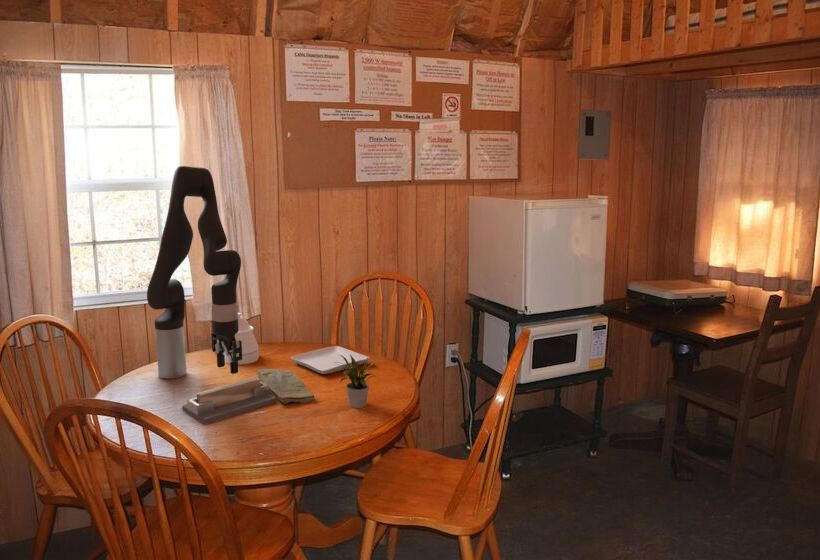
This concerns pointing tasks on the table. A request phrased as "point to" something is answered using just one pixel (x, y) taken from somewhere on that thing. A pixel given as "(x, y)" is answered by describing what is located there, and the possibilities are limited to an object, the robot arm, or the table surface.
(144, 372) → the table surface
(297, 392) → the stone slab
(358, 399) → the house plant
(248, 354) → the honey pot
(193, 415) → the base board
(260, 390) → the end caps
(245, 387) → the slat
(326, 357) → the salad plate
